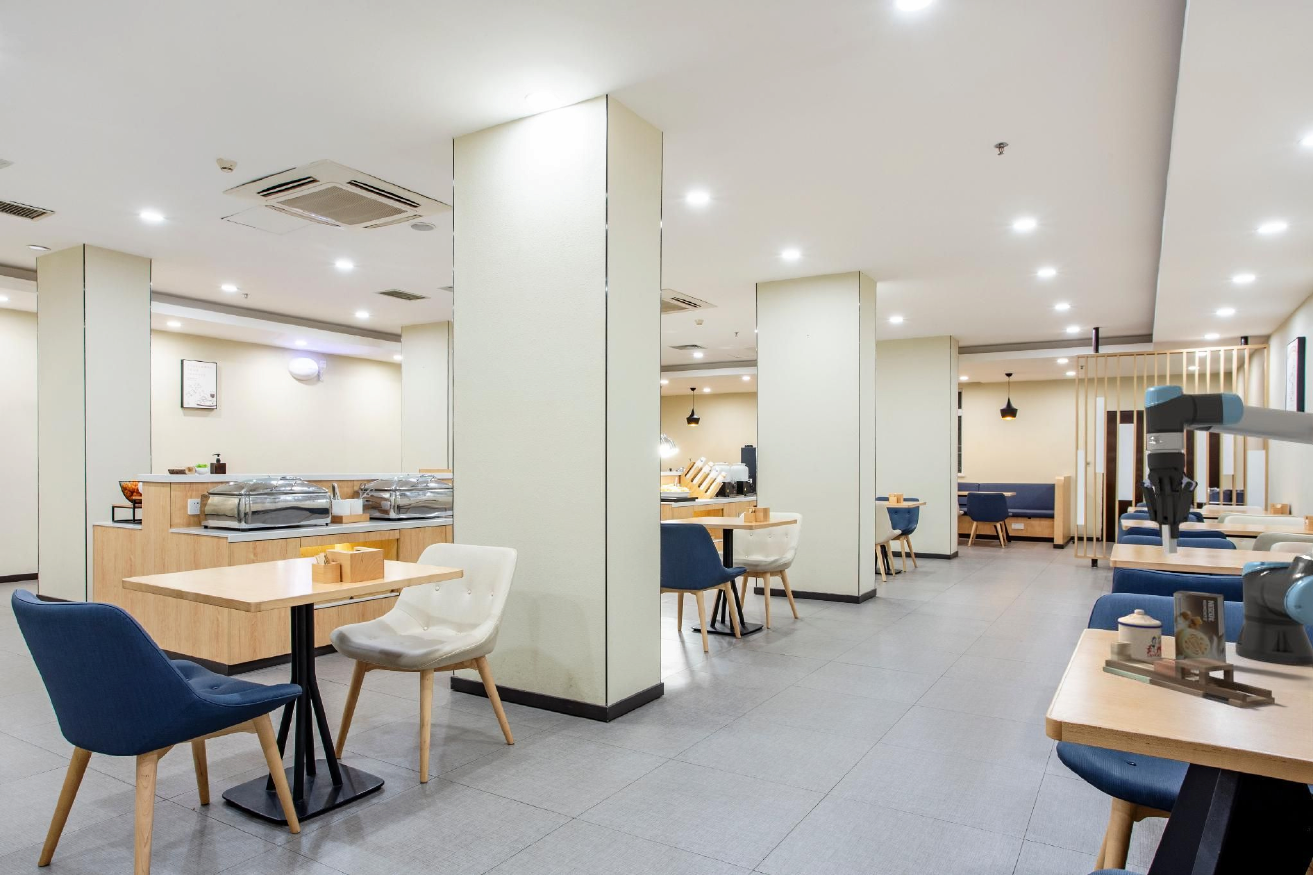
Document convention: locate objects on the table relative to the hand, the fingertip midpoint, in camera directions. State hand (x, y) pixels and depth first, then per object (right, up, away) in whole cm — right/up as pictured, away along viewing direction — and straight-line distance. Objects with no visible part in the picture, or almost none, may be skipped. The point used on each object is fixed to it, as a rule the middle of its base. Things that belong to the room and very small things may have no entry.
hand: (1170, 552), depth 184 cm
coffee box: (+7, -26, 0) cm, 27 cm away
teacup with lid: (-4, -26, +3) cm, 26 cm away
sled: (-13, -23, -16) cm, 31 cm away
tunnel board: (-11, -24, -21) cm, 34 cm away
